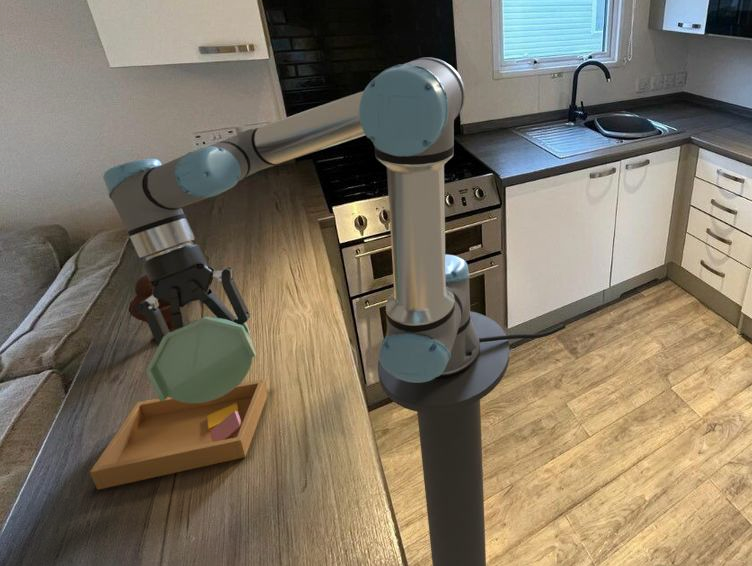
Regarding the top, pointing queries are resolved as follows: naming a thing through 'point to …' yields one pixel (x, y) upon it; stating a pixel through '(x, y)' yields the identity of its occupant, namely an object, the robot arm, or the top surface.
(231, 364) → the green pedestal stand
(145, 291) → the ice cream bowl
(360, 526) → the top surface
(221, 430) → the sachet
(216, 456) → the box
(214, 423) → the sachet
